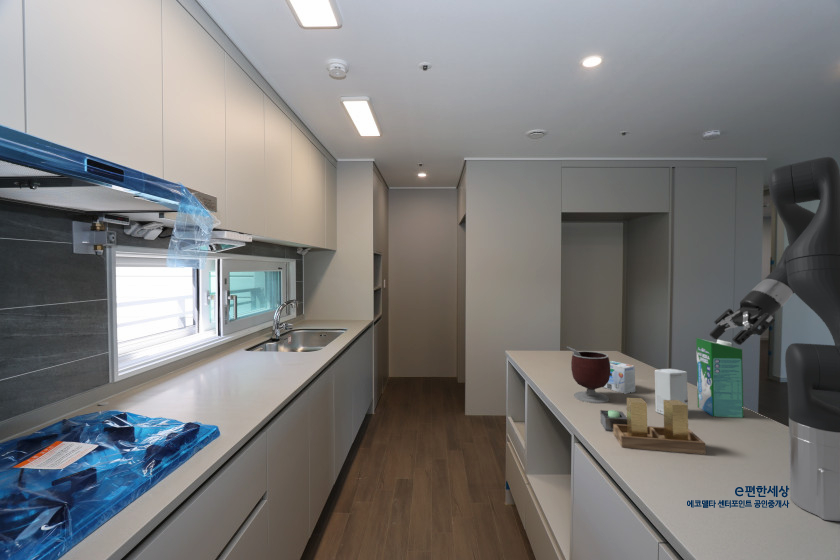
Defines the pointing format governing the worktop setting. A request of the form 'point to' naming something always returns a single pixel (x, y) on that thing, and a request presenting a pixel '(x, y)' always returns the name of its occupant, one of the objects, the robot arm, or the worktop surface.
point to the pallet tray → (658, 440)
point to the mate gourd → (590, 374)
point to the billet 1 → (636, 417)
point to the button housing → (612, 420)
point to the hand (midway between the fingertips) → (723, 339)
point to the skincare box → (670, 387)
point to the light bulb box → (621, 377)
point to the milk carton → (719, 378)
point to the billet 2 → (675, 420)
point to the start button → (613, 413)
